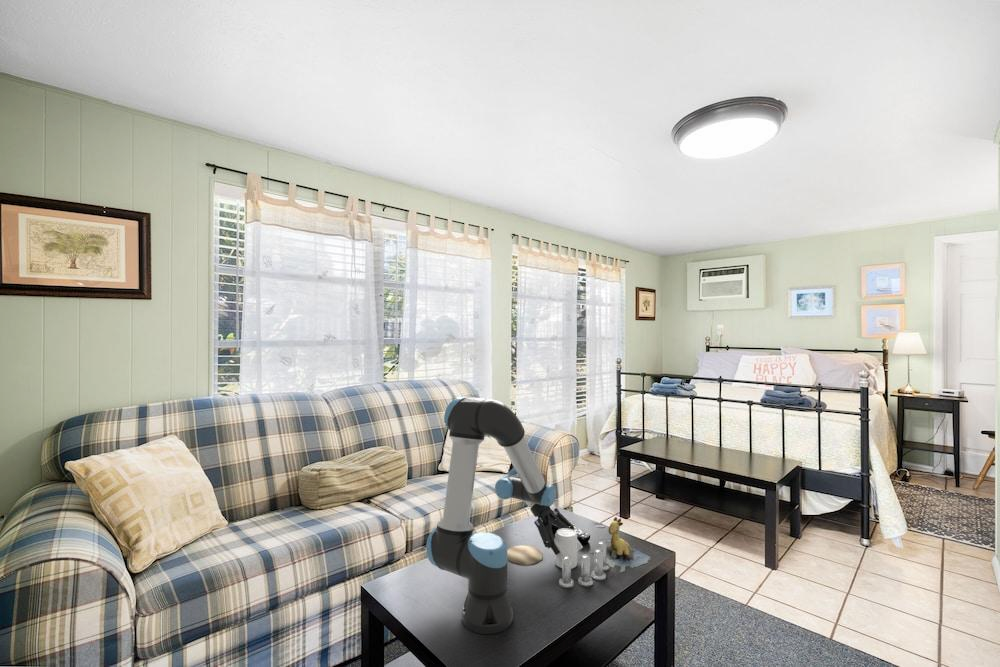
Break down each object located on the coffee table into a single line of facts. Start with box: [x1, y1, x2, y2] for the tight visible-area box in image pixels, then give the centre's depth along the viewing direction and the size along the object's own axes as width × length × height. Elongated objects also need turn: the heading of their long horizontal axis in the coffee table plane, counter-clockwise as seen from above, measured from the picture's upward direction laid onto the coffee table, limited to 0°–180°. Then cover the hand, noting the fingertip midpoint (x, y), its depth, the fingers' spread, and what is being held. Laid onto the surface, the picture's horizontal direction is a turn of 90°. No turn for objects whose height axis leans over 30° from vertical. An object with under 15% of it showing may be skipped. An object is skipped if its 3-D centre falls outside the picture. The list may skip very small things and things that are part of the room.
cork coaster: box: [507, 545, 543, 566], centre depth 171 cm, size 14×14×1 cm
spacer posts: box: [558, 540, 610, 589], centre depth 157 cm, size 23×12×9 cm, turn 142°
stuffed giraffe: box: [589, 516, 652, 573], centre depth 171 cm, size 16×18×16 cm
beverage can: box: [554, 528, 578, 570], centre depth 165 cm, size 8×8×12 cm
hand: (572, 555), depth 163 cm, fingers open, 11 cm apart
